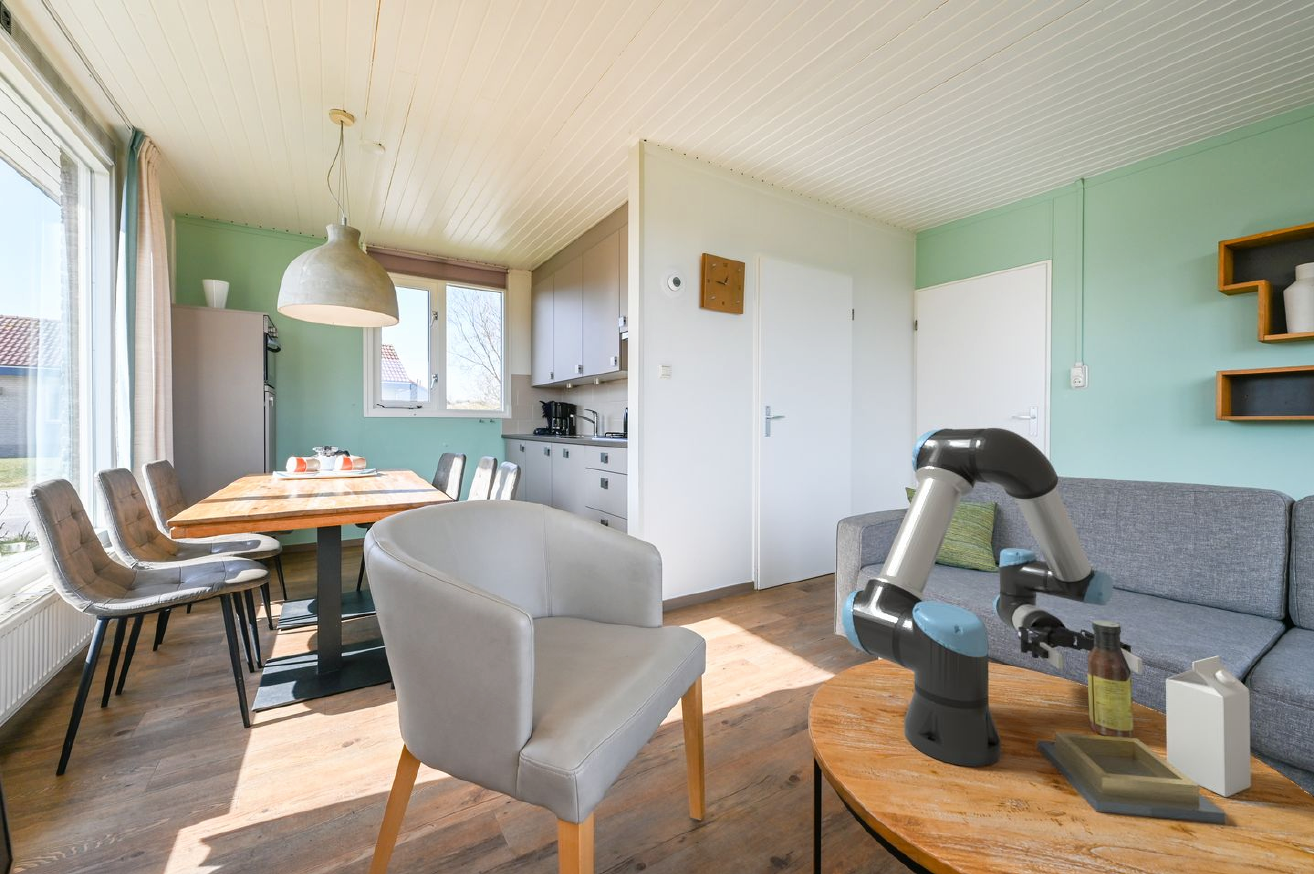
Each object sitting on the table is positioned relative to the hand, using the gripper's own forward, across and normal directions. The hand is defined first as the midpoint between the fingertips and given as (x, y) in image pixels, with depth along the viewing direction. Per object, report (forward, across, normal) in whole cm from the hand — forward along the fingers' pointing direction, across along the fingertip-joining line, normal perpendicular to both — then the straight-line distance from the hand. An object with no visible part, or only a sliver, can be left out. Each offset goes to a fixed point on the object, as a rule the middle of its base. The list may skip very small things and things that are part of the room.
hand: (1099, 664), depth 102 cm
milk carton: (+17, -5, -11) cm, 21 cm away
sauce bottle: (+4, +1, -11) cm, 12 cm away
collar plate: (+20, +9, -11) cm, 24 cm away
